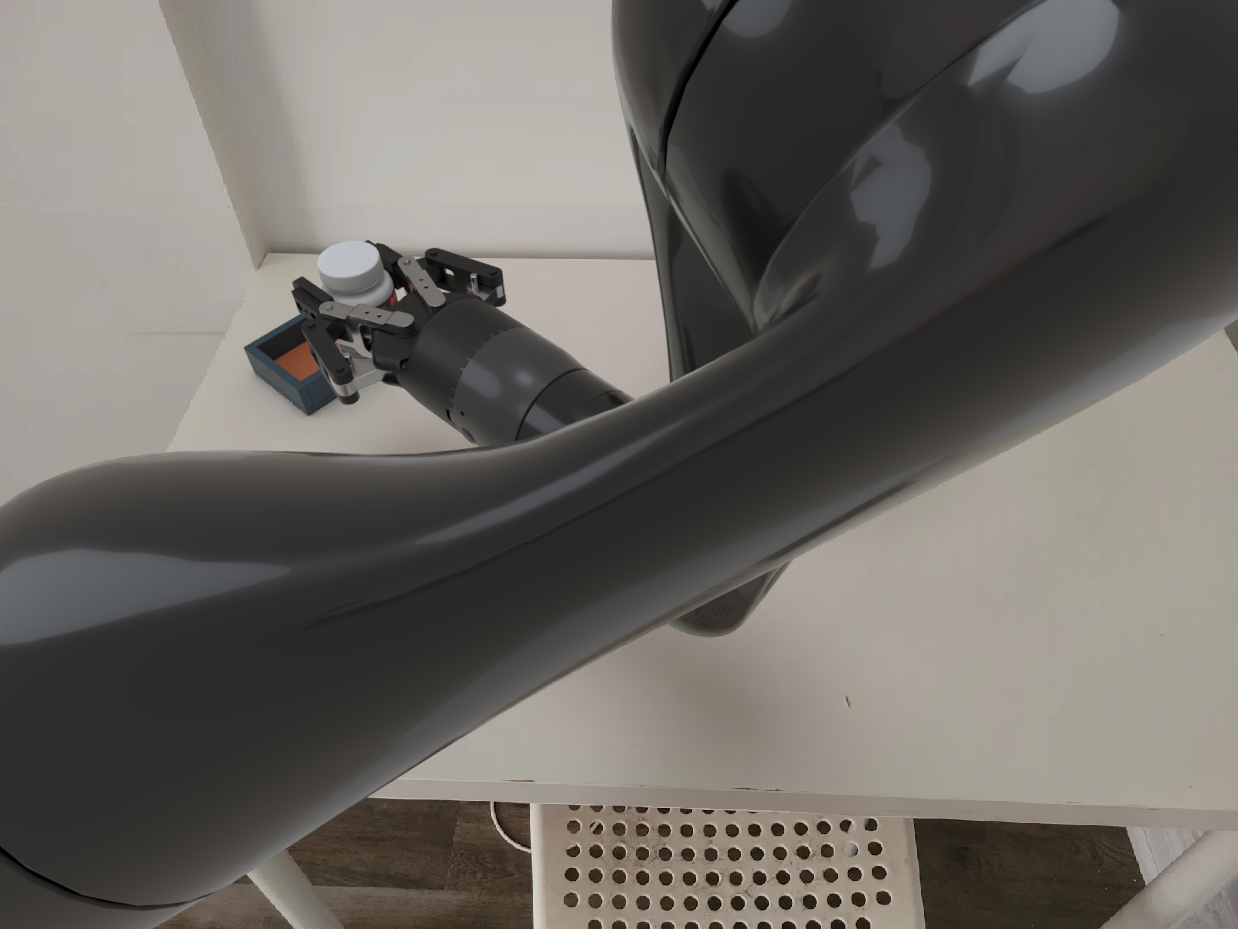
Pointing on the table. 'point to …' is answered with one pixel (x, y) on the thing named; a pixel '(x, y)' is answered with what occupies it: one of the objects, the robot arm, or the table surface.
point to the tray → (290, 366)
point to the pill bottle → (356, 279)
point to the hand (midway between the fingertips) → (333, 271)
